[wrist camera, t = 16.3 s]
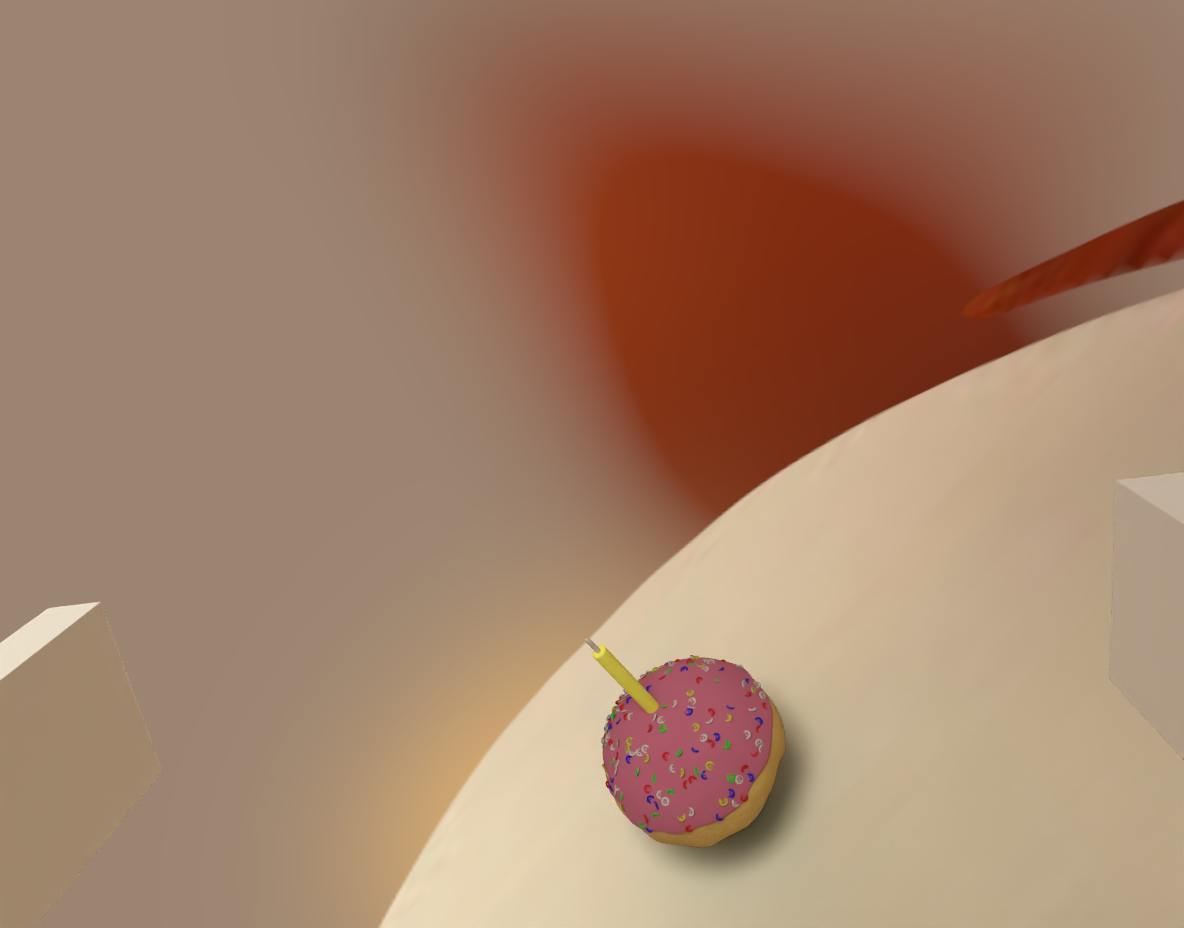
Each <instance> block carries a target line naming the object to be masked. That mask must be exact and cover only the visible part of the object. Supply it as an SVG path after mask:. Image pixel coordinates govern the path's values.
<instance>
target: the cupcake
mask: <svg viewBox="0 0 1184 928" xmlns="http://www.w3.org/2000/svg"><path fill="white" fill-rule="evenodd" d="M585 641H586V643H587V644H588V645H589V646H590V647H591V648H592V649H593V650H594V652H593V657H594V658H595V659H596V660H597V661H598V662H599V663H600V664H601V665H602V666H603V667H604V669H605V670H606V671H607V672H608V673H609V674H610V675H611V676H612V677H613V678H614V679H615V680H616V681H617V682H618V683H619V684H620V685H621V686H622V687H623V688H624V690H623V691H624V693H625V694H622V695H620V696H619V699H621V700H617V701H616V702H615V703H616V704H617V705H618V706H614V707H613V708H612V712H613V713H612V714H611V715H608V716H607V718H606V720H607V722H608V723H606V725H605V727H604V730H605V734H604V737H602V739H601V743H602V744H603V761H604V764H602V767H603V768H604V770H605V772H606V777H607V781H606V786H607V788H609V790H610V793H611V794H612V795H613V797H614V798H615V800H616V803H617V805H618V807H619V808H620V810H621V811H622V812H623V814H624V815H625V816H626V817H627V818H628V819H629V820H630V821H631V822H632V823H633V824H634V825H636V826H638V827H639V828H641V829H642V830H643V831H644V832H646V833H647V834H648V835H649V836H650V837H651V838H653V839H654V840H656V841H658V842H661V843H666V844H674V845H684V846H692V847H708V846H711V845H714V844H716V843H718V842H719V841H721V840H722V839H724V838H726V837H728V836H730V835H732V834H734V833H736V832H738V831H740V830H742V829H744V828H746V827H747V826H748V825H749V824H750V823H751V822H752V821H753V820H754V819H755V818H756V817H757V816H758V815H759V813H760V812H761V810H762V809H763V807H764V805H765V802H766V800H767V797H768V795H769V793H770V791H771V789H772V787H773V785H774V782H775V778H776V773H777V769H778V765H779V762H780V760H781V758H782V756H783V755H784V752H785V733H784V728H783V724H782V720H781V717H780V715H779V712H778V710H777V708H776V706H775V705H774V703H773V702H772V701H771V699H770V698H769V697H768V696H767V694H766V693H765V692H764V691H763V690H762V688H761V687H760V686H761V684H760V683H759V682H755V680H754V679H753V678H752V677H751V676H750V674H749V673H748V672H747V671H746V670H745V669H744V667H743V666H742V665H736V664H733V663H729V662H726V661H725V660H717V659H711V658H699V657H698V656H692V655H690V657H691V658H687V659H682V660H679V659H677V660H675V661H669V662H667V663H665V664H664V665H663V666H660V667H655V668H653V670H652V671H647V672H646V674H647V675H646V674H643V675H641V676H640V679H639V680H638V681H637V680H636V679H635V678H634V677H633V676H632V675H631V674H630V673H629V672H628V670H627V669H626V668H625V667H624V666H623V665H622V664H621V663H620V662H619V661H618V660H617V659H616V658H615V657H614V656H613V655H612V654H611V652H610V651H609V650H608V649H607V648H606V647H605V646H603V645H601V646H598V647H597V646H596V645H595V644H594V643H593V642H592V641H591V640H590V639H589V638H585ZM655 669H656V670H655ZM648 672H649V673H648ZM642 676H643V677H642ZM625 690H626V691H625ZM621 696H622V697H621ZM618 701H619V702H618ZM614 708H615V710H614ZM608 717H609V719H608ZM607 783H608V785H607Z"/></svg>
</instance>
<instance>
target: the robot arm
mask: <svg viewBox="0 0 1184 928" xmlns="http://www.w3.org/2000/svg"><path fill="white" fill-rule="evenodd" d="M1109 679H1110V680H1111V681H1112V683H1113V684H1114V685H1115V686H1116V687H1117V688H1118V689H1119V690H1120V691H1121V692H1122V693H1123V695H1124V696H1125V697H1126V698H1127V699H1128V700H1129V701H1130V702H1131V703H1132V704H1133V705H1134V706H1135V708H1136V709H1137V710H1138V711H1139V712H1140V713H1141V714H1142V715H1143V716H1144V717H1145V718H1146V720H1147V721H1148V722H1149V723H1150V724H1151V725H1152V726H1153V727H1154V728H1155V729H1156V730H1157V732H1158V733H1159V734H1160V735H1161V736H1162V737H1163V738H1164V739H1165V740H1166V741H1167V742H1168V744H1169V745H1170V746H1171V747H1172V748H1173V749H1174V750H1175V751H1176V752H1177V753H1178V754H1179V755H1180V757H1181V758H1182V759H1183V760H1184V472H1179V473H1170V474H1162V475H1154V476H1145V477H1137V478H1129V479H1120V480H1116V488H1115V519H1114V549H1113V580H1112V611H1111V642H1110V673H1109ZM161 772H162V768H161V765H160V763H159V760H158V757H157V754H156V752H155V749H154V746H153V744H152V741H151V738H150V736H149V733H148V730H147V727H146V725H145V722H144V719H143V716H142V714H141V711H140V709H139V706H138V703H137V700H136V697H135V695H134V692H133V689H132V687H131V684H130V681H129V679H128V676H127V674H126V670H125V668H124V665H123V663H122V659H121V657H120V654H119V651H118V649H117V646H116V643H115V641H114V638H113V635H112V632H111V630H110V627H109V624H108V622H107V619H106V616H105V613H104V611H103V608H102V605H101V603H100V602H97V603H89V604H80V605H71V606H63V607H55V608H48V609H47V610H45V611H44V612H43V613H41V614H40V615H38V616H37V617H36V618H34V619H33V620H32V621H30V622H29V623H27V624H26V625H25V626H23V627H22V628H21V629H19V630H18V631H16V632H15V633H14V634H12V635H11V636H9V637H8V638H7V639H5V640H4V641H3V642H1V643H0V928H35V927H36V926H37V925H38V924H39V922H40V921H41V920H42V919H43V917H44V916H45V915H46V914H47V912H48V911H49V910H50V909H51V908H52V906H53V905H54V904H55V903H56V901H57V900H58V899H59V898H60V897H61V895H62V894H63V893H64V892H65V890H66V889H67V888H68V886H69V885H70V884H71V883H72V882H73V881H74V879H75V878H76V877H77V876H78V874H79V873H80V872H81V871H82V869H83V868H84V867H85V866H86V865H87V863H88V862H89V861H90V860H91V858H92V857H93V856H94V855H95V853H96V852H97V851H98V850H99V849H100V847H101V846H102V845H103V844H104V842H105V841H106V840H107V839H108V837H109V836H110V835H111V834H112V833H113V831H114V830H115V829H116V827H117V826H118V825H119V824H120V823H121V821H122V820H123V819H124V818H125V816H126V815H127V814H128V813H129V812H130V810H131V809H132V808H133V807H134V805H135V804H136V803H137V802H138V801H139V799H140V798H141V797H142V796H143V794H144V793H145V792H146V790H147V789H148V788H149V787H150V786H151V784H152V783H153V782H154V781H155V780H156V778H157V777H158V776H159V774H160V773H161Z"/></svg>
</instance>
